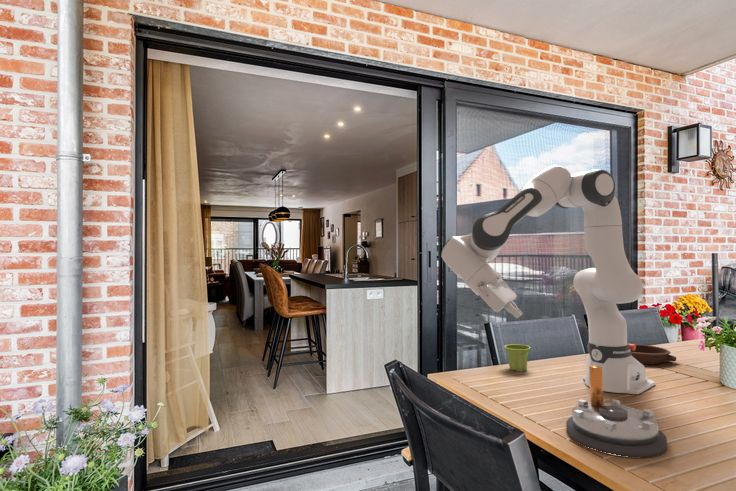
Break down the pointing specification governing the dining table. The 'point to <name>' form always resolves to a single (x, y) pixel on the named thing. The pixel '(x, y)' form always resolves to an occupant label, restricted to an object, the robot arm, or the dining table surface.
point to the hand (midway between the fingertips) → (520, 316)
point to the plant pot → (517, 356)
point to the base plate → (618, 449)
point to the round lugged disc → (613, 417)
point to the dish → (651, 354)
